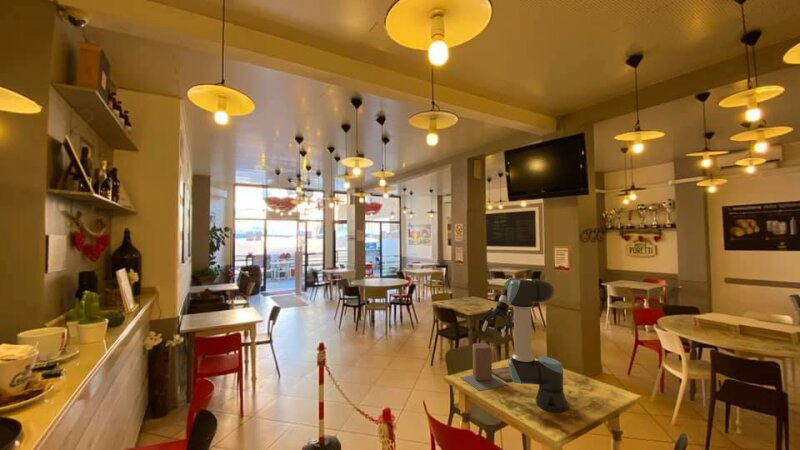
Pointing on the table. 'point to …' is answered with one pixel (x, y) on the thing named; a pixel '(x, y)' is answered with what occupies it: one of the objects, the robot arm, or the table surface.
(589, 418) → the table surface
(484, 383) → the gray tile
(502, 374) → the walnut board
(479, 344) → the wooden block
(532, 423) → the table surface
